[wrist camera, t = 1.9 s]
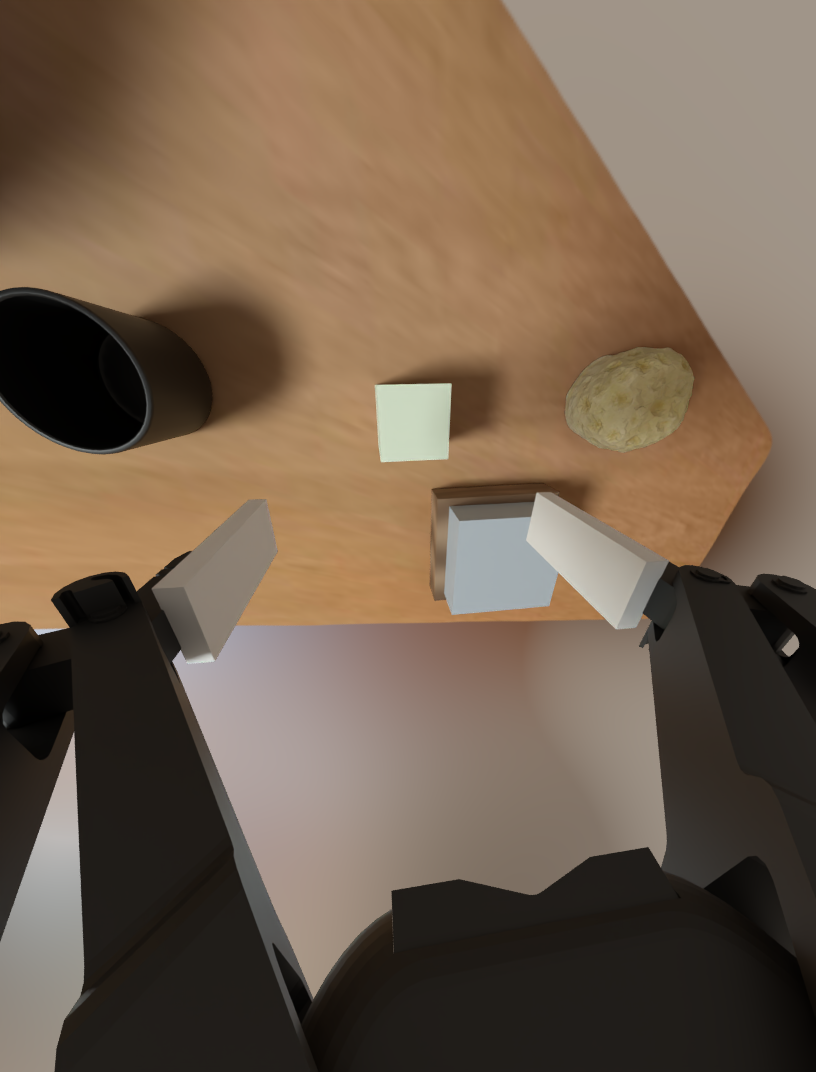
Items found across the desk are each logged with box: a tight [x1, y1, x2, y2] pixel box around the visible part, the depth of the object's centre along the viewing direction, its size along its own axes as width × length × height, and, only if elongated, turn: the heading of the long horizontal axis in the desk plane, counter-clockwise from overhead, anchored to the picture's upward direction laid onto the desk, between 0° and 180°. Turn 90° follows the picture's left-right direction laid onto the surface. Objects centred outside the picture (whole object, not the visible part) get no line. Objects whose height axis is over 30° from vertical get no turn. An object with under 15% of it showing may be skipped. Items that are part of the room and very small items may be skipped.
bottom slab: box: [430, 483, 560, 601], centre depth 37 cm, size 14×14×4 cm
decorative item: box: [565, 347, 695, 453], centre depth 29 cm, size 10×10×10 cm
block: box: [375, 383, 452, 462], centre depth 27 cm, size 6×6×7 cm
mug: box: [0, 287, 212, 454], centre depth 22 cm, size 9×12×9 cm
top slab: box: [444, 502, 558, 615], centre depth 34 cm, size 12×12×4 cm
